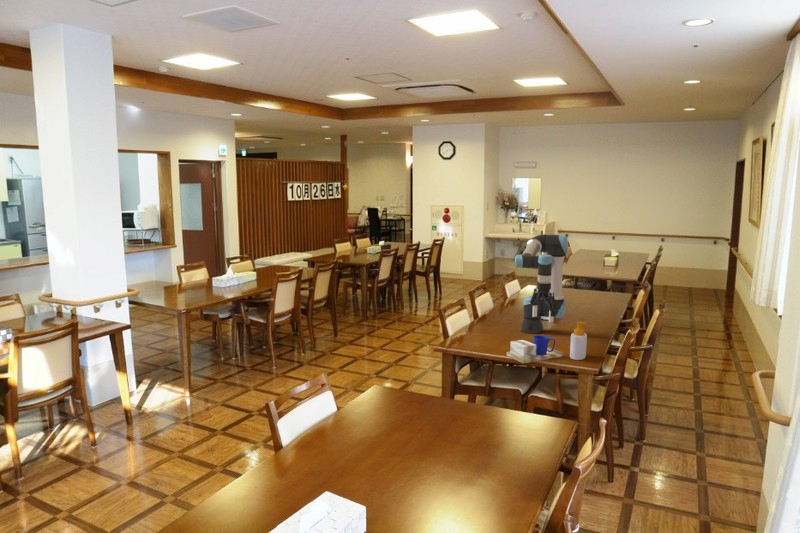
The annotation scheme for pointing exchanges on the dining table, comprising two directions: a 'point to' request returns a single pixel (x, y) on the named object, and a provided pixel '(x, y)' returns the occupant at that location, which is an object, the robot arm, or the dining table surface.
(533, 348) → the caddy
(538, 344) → the mug
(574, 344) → the soap bottle
